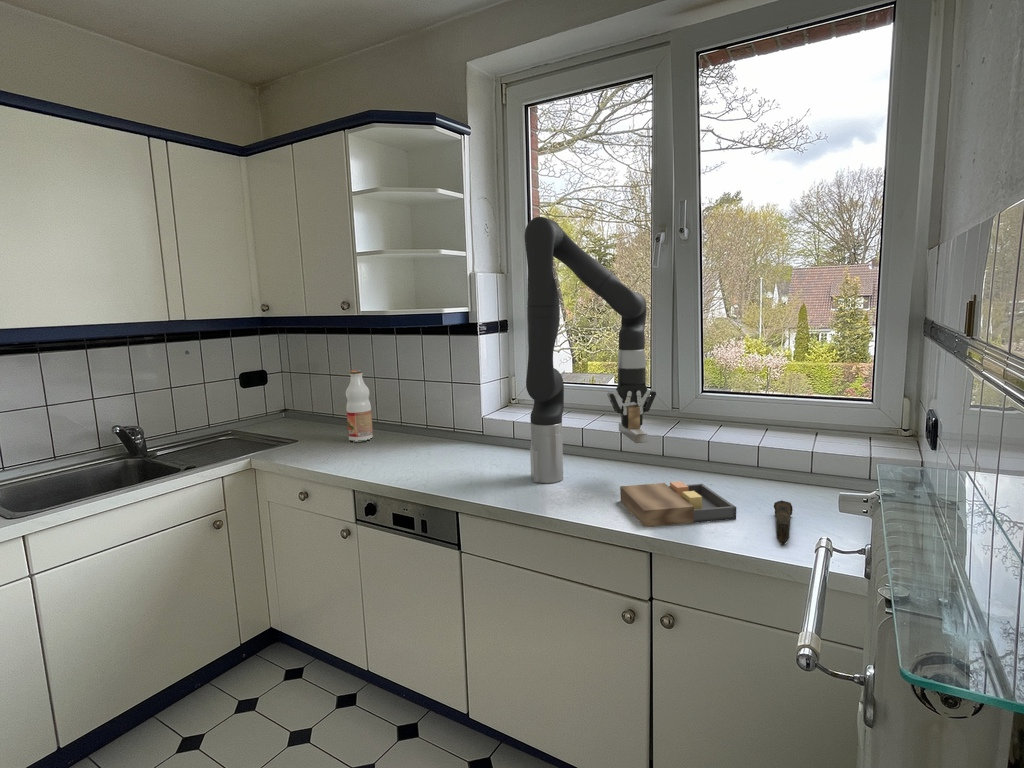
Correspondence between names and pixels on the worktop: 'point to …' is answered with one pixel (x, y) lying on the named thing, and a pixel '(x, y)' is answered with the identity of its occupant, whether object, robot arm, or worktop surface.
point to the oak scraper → (634, 426)
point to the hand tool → (783, 520)
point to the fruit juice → (358, 408)
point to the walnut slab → (656, 505)
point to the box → (712, 505)
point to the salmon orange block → (679, 487)
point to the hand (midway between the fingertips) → (631, 427)
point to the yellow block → (693, 499)
